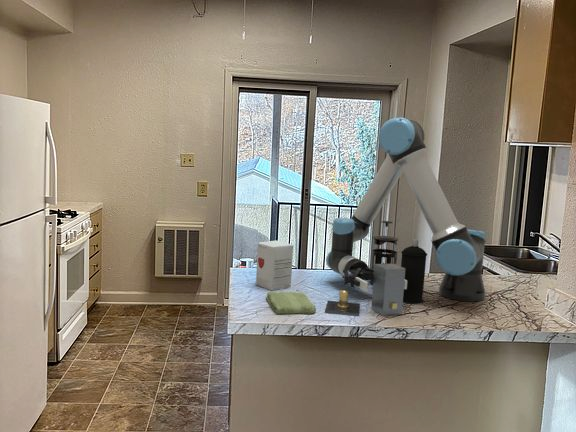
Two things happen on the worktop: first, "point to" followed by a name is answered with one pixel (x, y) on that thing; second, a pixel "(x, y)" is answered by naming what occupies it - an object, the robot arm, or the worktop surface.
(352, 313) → the post base
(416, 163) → the robot arm
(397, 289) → the grey block
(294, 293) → the washcloth
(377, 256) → the french press
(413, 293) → the aerosol can
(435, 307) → the worktop surface
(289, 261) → the supplement box
